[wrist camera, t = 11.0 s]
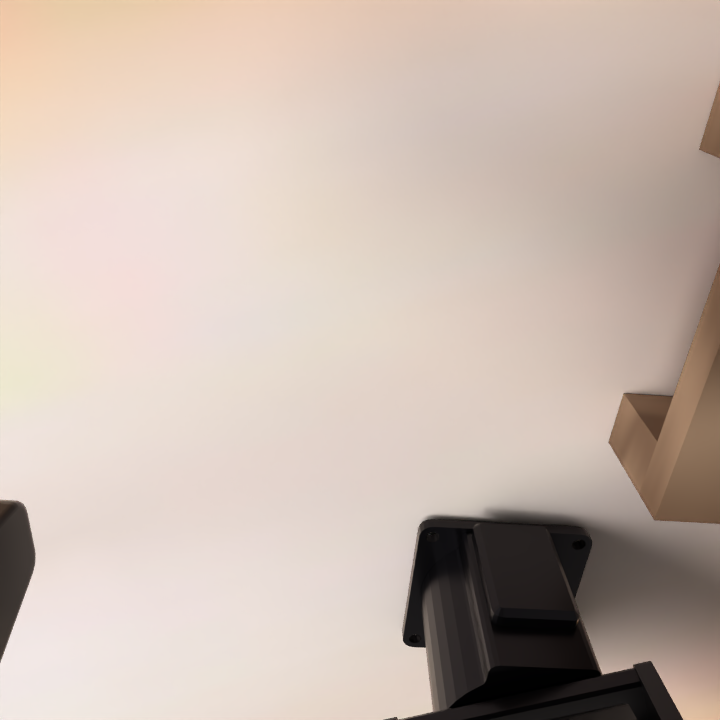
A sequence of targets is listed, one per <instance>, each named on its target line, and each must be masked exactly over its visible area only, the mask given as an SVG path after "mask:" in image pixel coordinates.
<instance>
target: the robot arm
mask: <svg viewBox="0 0 720 720" xmlns="http://www.w3.org/2000/svg"><path fill="white" fill-rule="evenodd" d="M429 532H436V533H435V534H433V535H429V534H428V533H429ZM576 540H580V541H578V542H574V541H576ZM591 547H592V540H591V538H590V536H589V534H588V532H587V530H585V529H584V528H580V527H567V526H549V525H530V524H511V523H493V522H474V521H455V520H436V519H431V520H426V521H424V522H422V523H421V524H420V526H419V528H418V533H417V539H416V546H415V552H414V558H413V565H412V571H411V578H410V584H409V590H408V597H407V603H406V609H405V616H404V622H403V629H402V633H403V642H404V643H405V644H406V645H408V646H411V647H424V648H426V653H427V662H428V670H429V679H430V688H431V697H432V705H433V712H431V713H427V714H422V715H417V716H413V717H408V718H404V719H399V720H683V718H682V717H681V715H680V713H679V711H678V709H677V708H676V706H675V704H674V702H673V700H672V698H671V697H670V695H669V693H668V691H667V689H666V688H665V686H664V684H663V682H662V680H661V678H660V677H659V675H658V673H657V671H656V669H655V667H654V666H653V664H652V662H651V661H648V662H644V663H639V664H634V665H633V668H631V669H627V670H622V671H618V672H613V673H609V674H604V675H602V672H601V670H600V667H599V664H598V662H597V659H596V656H595V654H594V651H593V648H592V646H591V643H590V640H589V638H588V635H587V632H586V630H585V627H584V624H583V622H582V619H581V616H580V613H579V610H578V607H577V605H576V602H575V596H576V593H577V590H578V587H579V584H580V581H581V578H582V574H583V571H584V568H585V565H586V562H587V559H588V556H589V553H590V550H591ZM34 566H35V548H34V543H33V538H32V533H31V528H30V523H29V518H28V514H27V510H26V507H25V506H24V504H23V503H21V502H19V501H13V500H0V662H1V659H2V656H3V654H4V651H5V648H6V645H7V643H8V640H9V637H10V634H11V632H12V629H13V626H14V623H15V621H16V618H17V615H18V612H19V610H20V607H21V604H22V601H23V599H24V596H25V593H26V590H27V588H28V585H29V582H30V579H31V577H32V574H33V570H34ZM415 634H416V635H415ZM385 720H398V719H397V717H394V718H390V719H385Z"/></svg>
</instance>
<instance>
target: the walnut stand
mask: <svg viewBox="0 0 720 720" xmlns="http://www.w3.org/2000/svg"><path fill="white" fill-rule="evenodd" d="M699 150H702V151H704V152H706V153H709V154H711V155H714V156H716V157H718V158H720V83H719V87H718V90H717V93H716V96H715V100H714V103H713V106H712V109H711V113H710V116H709V119H708V122H707V126H706V129H705V132H704V135H703V138H702V142H701V145H700V148H699ZM609 444H610V445H611V447H612V449H613V450H614V452H615V454H616V456H617V457H618V459H619V461H620V462H621V464H622V466H623V467H624V469H625V471H626V473H627V474H628V476H629V478H630V479H631V481H632V483H633V485H634V486H635V488H636V490H637V491H638V493H639V495H640V496H641V498H642V500H643V502H644V503H645V505H646V507H647V508H648V510H649V512H650V514H651V515H652V517H653V519H654V520H661V521H680V522H698V523H716V524H720V264H719V267H718V270H717V273H716V276H715V279H714V282H713V284H712V287H711V290H710V293H709V296H708V299H707V302H706V304H705V307H704V310H703V313H702V316H701V319H700V322H699V324H698V327H697V330H696V333H695V336H694V339H693V341H692V344H691V347H690V350H689V353H688V356H687V359H686V361H685V364H684V367H683V370H682V373H681V376H680V379H679V381H678V384H677V387H676V390H675V393H674V396H673V397H672V396H656V395H640V394H623V398H622V401H621V404H620V407H619V411H618V414H617V417H616V420H615V423H614V427H613V430H612V433H611V436H610V440H609Z"/></svg>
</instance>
